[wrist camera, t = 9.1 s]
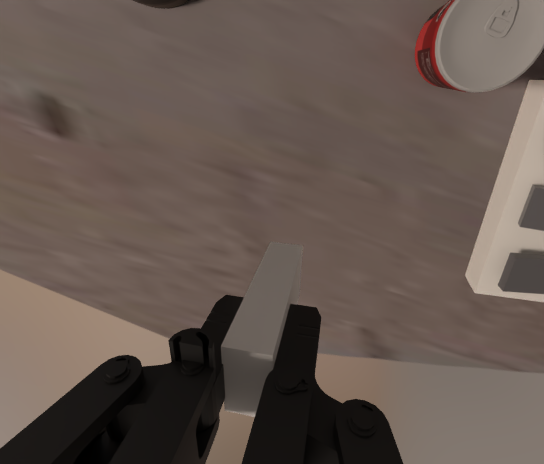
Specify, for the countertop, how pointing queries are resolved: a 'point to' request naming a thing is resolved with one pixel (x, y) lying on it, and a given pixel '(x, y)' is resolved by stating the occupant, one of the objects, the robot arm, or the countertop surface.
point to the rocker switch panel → (512, 201)
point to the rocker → (523, 273)
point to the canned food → (480, 43)
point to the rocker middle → (533, 209)
